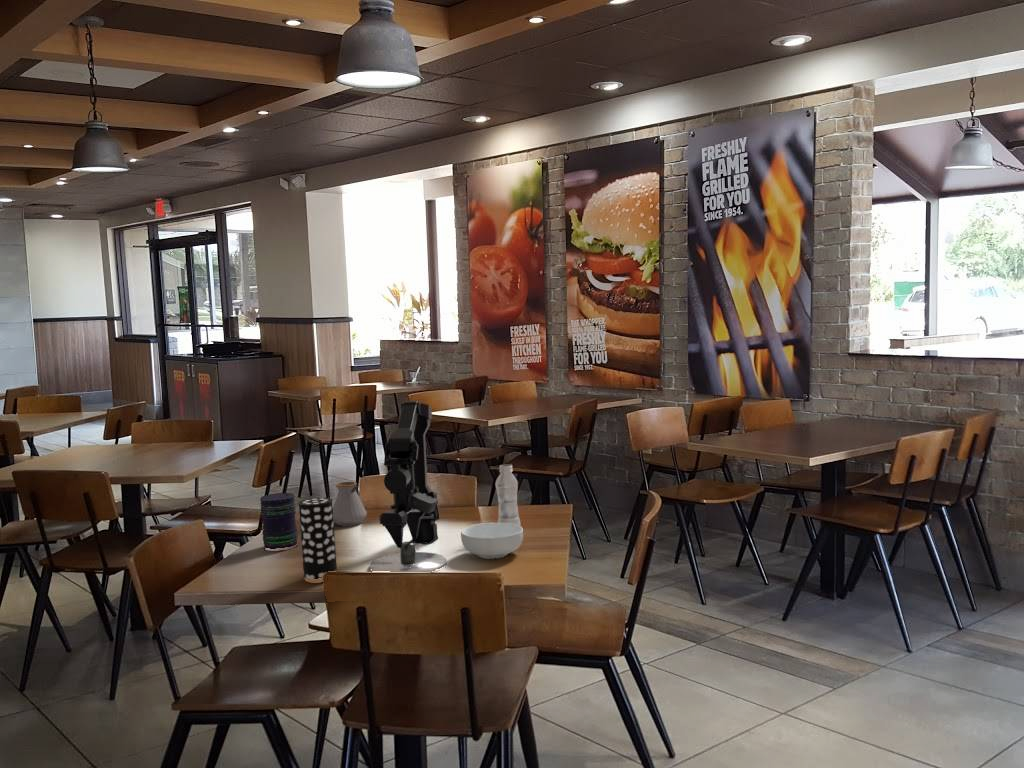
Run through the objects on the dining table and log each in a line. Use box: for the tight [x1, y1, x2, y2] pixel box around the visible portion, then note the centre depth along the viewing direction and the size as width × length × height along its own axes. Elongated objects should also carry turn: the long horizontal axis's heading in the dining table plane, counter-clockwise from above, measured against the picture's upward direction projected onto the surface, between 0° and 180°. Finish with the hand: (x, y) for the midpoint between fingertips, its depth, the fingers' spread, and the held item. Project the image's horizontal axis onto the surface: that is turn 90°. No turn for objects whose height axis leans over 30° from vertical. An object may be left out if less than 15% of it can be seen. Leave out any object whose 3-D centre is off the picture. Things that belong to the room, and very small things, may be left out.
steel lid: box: [369, 541, 448, 572], centre depth 240 cm, size 20×20×6 cm
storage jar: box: [259, 492, 299, 549], centre depth 265 cm, size 10×10×15 cm
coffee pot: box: [332, 481, 368, 527], centre depth 285 cm, size 21×12×15 cm, turn 23°
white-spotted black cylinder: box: [297, 497, 338, 579], centre depth 231 cm, size 8×8×20 cm
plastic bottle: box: [495, 463, 521, 526], centre depth 268 cm, size 6×7×20 cm
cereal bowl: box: [460, 522, 524, 560], centre depth 246 cm, size 17×17×7 cm
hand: (407, 543), depth 239 cm, fingers open, 9 cm apart
